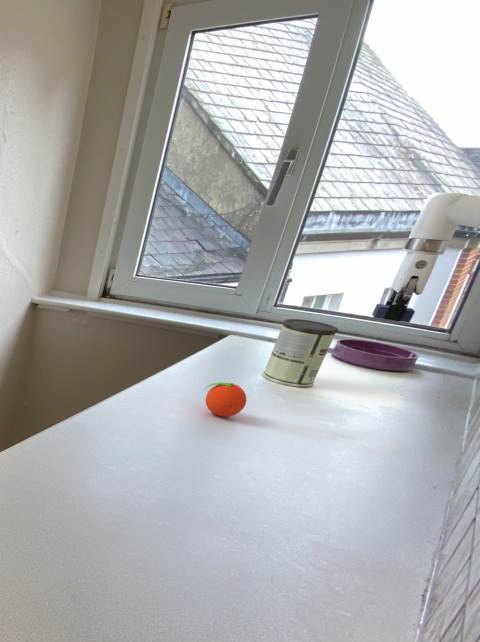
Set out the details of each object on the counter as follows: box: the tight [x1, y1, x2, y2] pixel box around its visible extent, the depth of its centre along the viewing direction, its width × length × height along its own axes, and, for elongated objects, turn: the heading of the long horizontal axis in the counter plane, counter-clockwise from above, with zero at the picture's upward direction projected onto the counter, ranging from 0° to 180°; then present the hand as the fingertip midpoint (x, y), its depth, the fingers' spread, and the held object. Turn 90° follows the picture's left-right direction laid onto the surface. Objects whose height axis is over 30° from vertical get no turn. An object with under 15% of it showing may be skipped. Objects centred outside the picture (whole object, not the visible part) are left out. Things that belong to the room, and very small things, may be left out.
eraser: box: [371, 303, 416, 323], centre depth 144 cm, size 7×4×3 cm, turn 54°
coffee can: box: [262, 318, 339, 388], centre depth 133 cm, size 10×10×14 cm
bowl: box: [330, 338, 420, 372], centre depth 152 cm, size 17×17×4 cm
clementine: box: [205, 382, 248, 418], centre depth 113 cm, size 8×7×7 cm
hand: (390, 317), depth 145 cm, fingers closed on eraser, 4 cm apart
